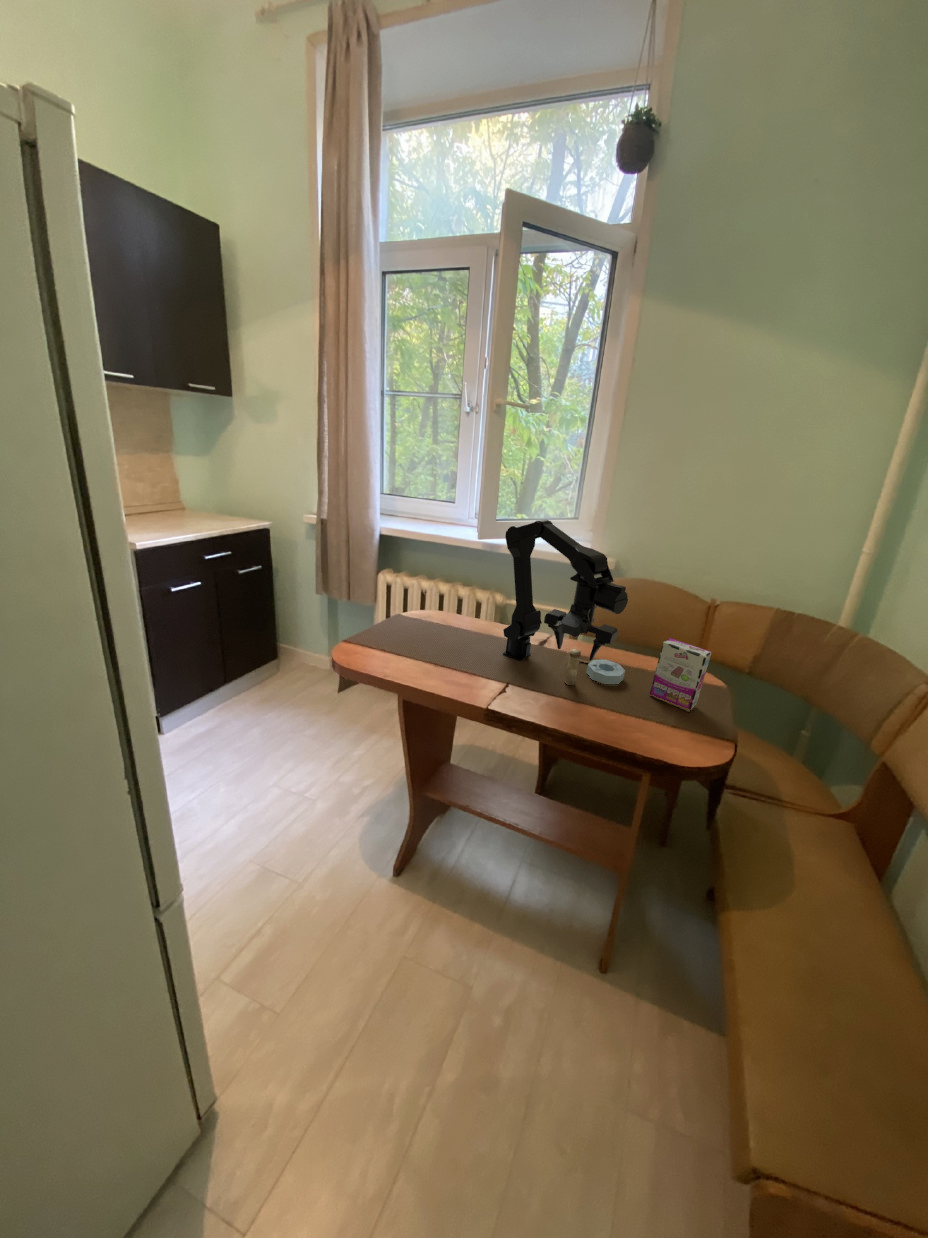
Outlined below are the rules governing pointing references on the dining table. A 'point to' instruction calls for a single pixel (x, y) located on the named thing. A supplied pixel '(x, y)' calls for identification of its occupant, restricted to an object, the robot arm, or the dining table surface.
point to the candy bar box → (680, 673)
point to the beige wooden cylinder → (572, 666)
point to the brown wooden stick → (584, 661)
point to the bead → (605, 671)
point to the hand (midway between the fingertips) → (574, 654)
